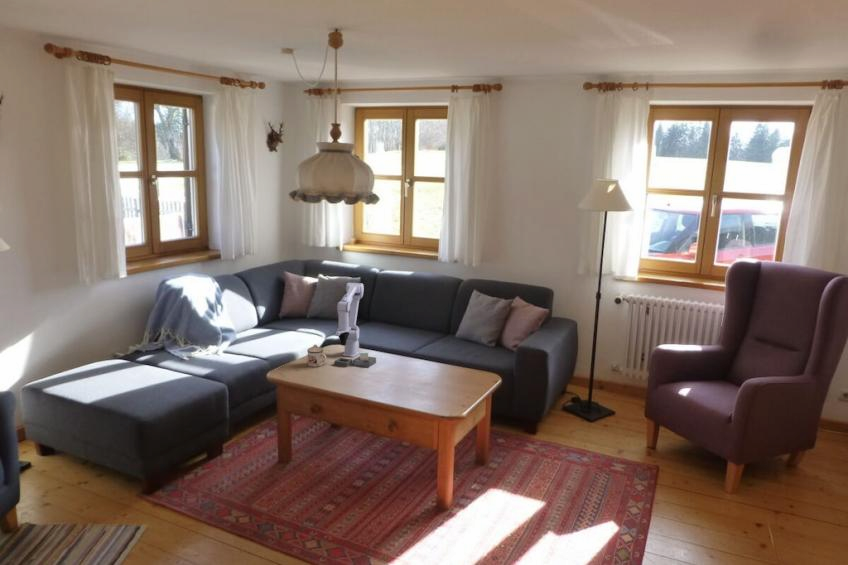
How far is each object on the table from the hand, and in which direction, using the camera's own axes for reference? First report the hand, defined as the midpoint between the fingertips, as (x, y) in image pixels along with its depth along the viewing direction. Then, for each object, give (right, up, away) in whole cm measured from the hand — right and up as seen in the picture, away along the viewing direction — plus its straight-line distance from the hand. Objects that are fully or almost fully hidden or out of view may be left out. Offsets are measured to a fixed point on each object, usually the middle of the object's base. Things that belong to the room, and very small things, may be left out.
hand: (343, 345), depth 356 cm
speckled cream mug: (-14, -11, -4) cm, 19 cm away
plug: (+12, -11, 0) cm, 16 cm away
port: (+12, -11, 0) cm, 16 cm away
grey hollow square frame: (0, -11, -2) cm, 11 cm away
